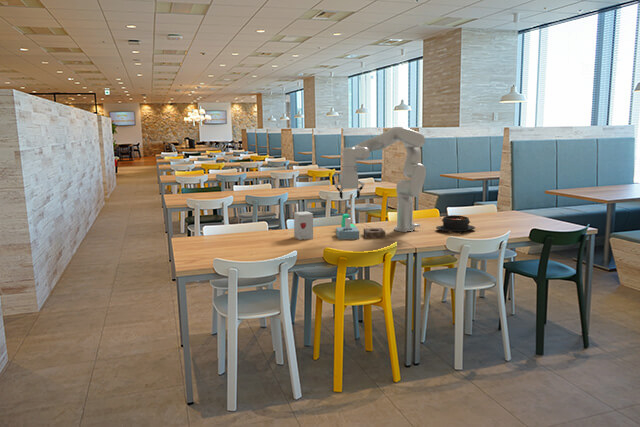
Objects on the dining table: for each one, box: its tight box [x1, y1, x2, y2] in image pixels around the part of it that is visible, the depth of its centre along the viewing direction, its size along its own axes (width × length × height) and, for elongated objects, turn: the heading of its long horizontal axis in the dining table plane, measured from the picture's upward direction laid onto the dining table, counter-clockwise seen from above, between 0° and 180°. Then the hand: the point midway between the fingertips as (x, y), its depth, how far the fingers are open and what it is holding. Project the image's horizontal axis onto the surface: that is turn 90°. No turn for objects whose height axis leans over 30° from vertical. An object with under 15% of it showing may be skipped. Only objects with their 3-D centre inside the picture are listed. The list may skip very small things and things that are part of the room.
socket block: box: [335, 226, 360, 240], centre depth 288 cm, size 12×12×4 cm
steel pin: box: [345, 217, 352, 230], centre depth 287 cm, size 3×3×11 cm
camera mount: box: [340, 213, 357, 227], centre depth 306 cm, size 12×8×10 cm, turn 9°
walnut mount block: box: [363, 227, 386, 239], centre depth 289 cm, size 11×11×4 cm
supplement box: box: [293, 211, 314, 241], centre depth 285 cm, size 9×9×15 cm
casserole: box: [435, 214, 476, 233], centre depth 302 cm, size 25×19×8 cm
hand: (349, 198), depth 285 cm, fingers open, 9 cm apart
